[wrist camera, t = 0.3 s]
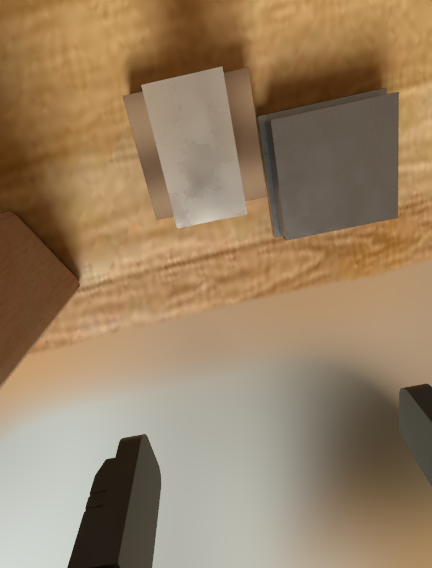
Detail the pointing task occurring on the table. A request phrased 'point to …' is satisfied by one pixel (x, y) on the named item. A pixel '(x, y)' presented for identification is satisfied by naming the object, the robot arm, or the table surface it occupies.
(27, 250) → the wooden block
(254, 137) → the stand
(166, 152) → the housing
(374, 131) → the stand
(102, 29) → the table surface
